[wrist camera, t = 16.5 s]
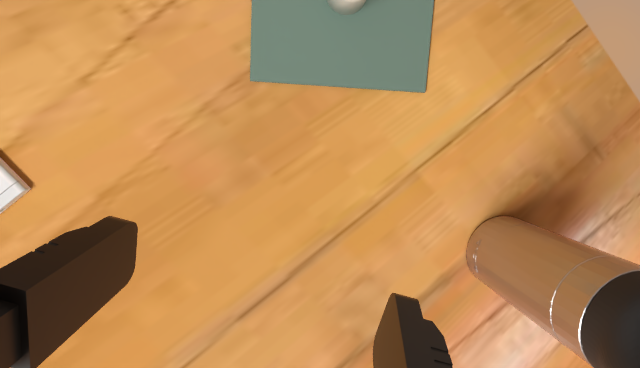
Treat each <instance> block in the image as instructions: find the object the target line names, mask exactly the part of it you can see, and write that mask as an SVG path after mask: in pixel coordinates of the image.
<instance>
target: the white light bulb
mask: <svg viewBox="0 0 640 368" xmlns="http://www.w3.org/2000/svg"><path fill="white" fill-rule="evenodd" d="M327 2H328V4H329V6H330V7H331V8H332V9H333V10H334V11H335V12H337V13H339V14H341V15H351V14H354V13H356V12H358V11H359V10H360V9H361V8H362V6H363V5H364V3H365V2H366V0H327Z"/></svg>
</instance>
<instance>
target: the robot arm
mask: <svg viewBox="0 0 640 368" xmlns="http://www.w3.org/2000/svg"><path fill="white" fill-rule="evenodd" d="M137 232H138V228H137V225H136V223H135V222H131V221H128V220H124V219H120V218H116V217H113V216H108V217H105V218H104V219H102V220H100V221H98V222H97V223H95V224H93V225H92V226H90V227H83V228H80V229H76V230H73V231H69V232H66V233H64V234H62V235H60V236H58V237H57V238H55V239H53V240H51V241H49V243H48V244H44V245H42V246H40V247H38V248H37V249H35V251H34V252H32V251H31V252H29V253H28V254H26V255H24V256H22V257H20V258H18V259H17V260H15V261H13V262H11V263H9V264H8V265H6V266H4V267H2V268H0V368H10V367H11V368H37V367H38V366H39V365H40V364H41V363H42V362H43V361H44V360H45V359H46V358H47V357H49V356H50V355H51V354H52V353H53V352H54V351H55V350H56V349H57V348H58V347H59V346H60V345H62V344H63V343H64V342H65V341H66V340H67V339H68V338H69V337H70V336H71V335H72V334H74V333H75V332H76V331H77V330H78V329H79V328H80V327H81V326H82V325H83V324H84V323H85V322H87V321H88V320H89V319H90V318H91V317H92V316H93V315H94V314H95V313H96V312H97V311H98V310H100V309H101V308H102V307H103V306H104V305H105V304H106V303H107V302H108V301H109V300H110V299H112V298H113V297H114V296H115V295H116V294H117V293H118V292H119V291H120V290H121V289H122V288H123V287H125V286H126V284H127V283H128V282H129V280H130V279H131V277H132V275H133V272H134V269H135V261H136V247H137ZM466 258H467V263H468V266H469V268H470V270H471V272H472V273H473V274H474V276H475V277H477V278H478V279H479V280H480V281H482V282H483V283H484V284H486V285H487V286H488V287H489V288H491V289H492V290H493V291H494V292H496V293H497V294H498V295H500V296H501V297H502V298H503V299H505V300H506V301H507V302H509V303H510V304H511V305H513V306H514V307H515V308H516V309H518V310H519V311H520V312H522V313H523V314H524V315H526V316H527V317H528V318H529V319H531V320H532V321H533V322H535V323H536V324H537V325H539V326H540V327H541V328H542V329H544V330H545V331H546V332H548V333H549V334H550V335H552V336H553V337H554V338H555V339H557V340H558V341H559V342H561V343H562V344H563V345H565V346H566V347H567V348H569V349H570V350H571V351H573V352H574V353H575V354H577V355H578V356H579V357H580V358H582V359H583V360H584V361H586V362H587V363H588V364H590V365H591V366H592V367H594V368H640V265H638V264H635V263H633V262H630V261H627V260H625V259H622V258H619V257H616V256H614V255H611V254H608V253H606V252H603V251H601V250H598V249H595V248H593V247H590V246H588V245H585V244H582V243H580V242H577V241H574V240H572V239H569V238H567V237H564V236H561V235H559V234H556V233H554V232H551V231H548V230H546V229H543V228H541V227H538V226H536V225H533V224H530V223H528V222H525V221H522V220H520V219H517V218H514V217H510V216H499V217H494V218H492V219H489V220H487V221H486V222H484V223H482V224H481V225H480V226H479V227H478V228H477V229H476V230H475V231H474V233H473V234H472V236H471V238H470V240H469V242H468V246H467V255H466ZM452 365H453V364H452V361H451V358H450V355H449V354H448V349H447V346H446V342H445V339H444V336H443V335H442V334H441V332H440V331H439V330H438V328H437V327H436V326H435V324H434V323H433V322H432V321H429V320H426V319H423V316H422V312H421V309H420V305H419V301H418V300H417V299H414V298H411V297H407V296H403V295H399V294H396V293H392V294H391V295H390V297H389V300H388V302H387V305H386V308H385V310H384V313H383V316H382V319H381V321H380V324H379V327H378V329H377V332H376V336H375V340H374V346H373V366H374V368H452Z"/></svg>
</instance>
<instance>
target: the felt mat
mask: <svg viewBox="0 0 640 368" xmlns="http://www.w3.org/2000/svg"><path fill="white" fill-rule="evenodd" d="M433 6H434V0H366V2H365V3H364V5H363V6H362V8H361V9H360V10H359V11H358V12H356V13H354V14H351V15H341V14H339V13H337V12H335V11H334V10H333V9H332V8H331V7H330V6H329V4H328V2H327V0H252V19H251V66H250V81H257V82H272V83H287V84H302V85H317V86H332V87H347V88H362V89H377V90H392V91H406V92H421V93H425V90H426V80H427V69H428V59H429V48H430V37H431V27H432V16H433Z"/></svg>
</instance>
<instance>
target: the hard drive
mask: <svg viewBox="0 0 640 368" xmlns="http://www.w3.org/2000/svg"><path fill="white" fill-rule="evenodd" d="M29 190H31V188H30V187H29V186H28V185H27V184H26V183H25V182H24V181H23V180H22V179H21V178H20V177H19V176H18V175H17V174H16V173H15V172H14V171H13V170H12V169H11V168H10V167H9V166H8V165H7V164H6V163H5V162H4V161H3V160H2V159H1V158H0V214H1V213H2V212H3V211H4V210H6V209H7V208H8V207H9V206H11V205H12V204H13V203H14V202H16V201H17V200H18V199H19V198H21V197H22V196H23V195H24V194H25V193H27V192H28V191H29Z"/></svg>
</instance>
